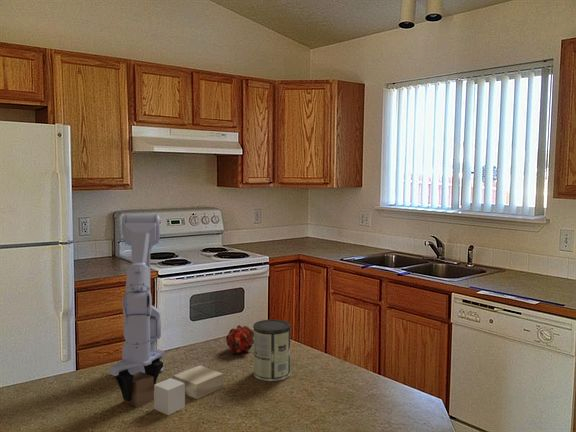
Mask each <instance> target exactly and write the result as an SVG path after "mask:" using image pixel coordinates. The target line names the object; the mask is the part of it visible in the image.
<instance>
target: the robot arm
mask: <svg viewBox="0 0 576 432" xmlns="http://www.w3.org/2000/svg"><path fill="white" fill-rule="evenodd" d="M160 217H161V216H160V215H159V214H158V213H156V214H126V213H125V214H123V216H122V217H121V234H122V238H123V241H124V242H125V245H128V246H129V247H130V246H131V247H130V248H131V249H130V250H131V265H130V266H129V267H128V268H127V269H126V279H125V280H126V282H125V294H123V295H122V313H123V338H124V340H125V341H124V342H123V345H122V350H121V353H122V355H121V357H122V359H121V360H120V361H118V362H117V363H115V364H113V365H110V366H109V375H112V376H113V378H114V379H115V381H116V382H117V385H118V387H119V389H120V391H121V392H120V393H121V395H122V399H123V401H124V400H126V401H131V387H132V381H133V377H134V375H133V374H136V373H138V372H143V373H146V374H148V375H151V376H153V377H154V385H155V384H157V381H158V377H159V375H160V372H163V371H164V368H163V367H164V362H163V361H162V360H164V359H166V358H165V357H166V356H165V355H166V354H165V350H162V349H158V350H157V340H159V339H160V338H161V337H162V318H161V312H160V310H159V309H158V308H157V307H155V305H152V303H153V301H152V300H153V299H152V293H151V292H152V291H151V251H152V249H153V246H155V245H158V244H159V241H160V238H161V237H160V235H161V234H160V233H161V220H160V219H161V218H160Z"/></svg>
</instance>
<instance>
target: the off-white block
mask: <svg viewBox="0 0 576 432" xmlns="http://www.w3.org/2000/svg"><path fill="white" fill-rule="evenodd" d="M153 401H154V403H153V404H154V410H156V411H158V412H160V413H162V414H164V415H167V416H171V415H172V414H174V413H177V412H178V411H181V410H182V409H185V408H186V394H185V383H183V382H180V381H177V380H175V379H173V378H172V377H170V378H167V379H165V380H162V381H160V382H158V383H157V382H156V384H155V385H154V400H153ZM176 411H177V412H176Z"/></svg>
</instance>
